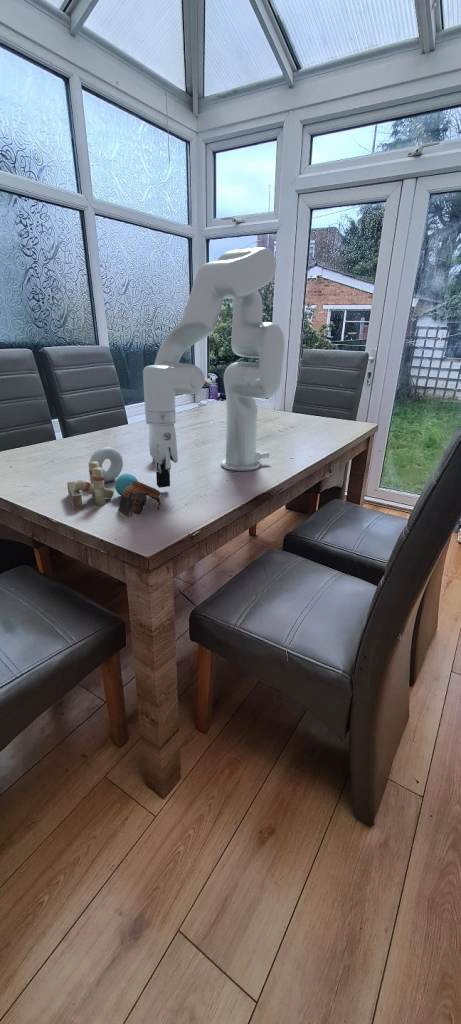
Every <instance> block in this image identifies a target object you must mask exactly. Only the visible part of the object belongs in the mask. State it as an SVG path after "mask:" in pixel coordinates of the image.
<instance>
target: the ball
mask: <svg viewBox="0 0 461 1024" xmlns="http://www.w3.org/2000/svg"><path fill="white" fill-rule="evenodd" d="M133 481H138V482H139V480H138V478H137V477H136V476H135V475H132V474H131V473H124V474H121V475H118V477H116V480H115V483H114V489H115V491H116V493H118V495H119V496H121V495H122V494H123V491H124V489H125V488H126V487H128V486H130V485H132V482H133ZM132 496H133V495H132Z"/></svg>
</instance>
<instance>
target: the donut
mask: <svg viewBox="0 0 461 1024" xmlns="http://www.w3.org/2000/svg"><path fill="white" fill-rule="evenodd" d="M105 460H109V461H110V465H109V467H108V468H107V469H103V476H104V483H107V482H111V481H114V480H115V479H117V478H118V477H119V476H120V474H121V473H122V470H123V464H124V461H123V457H122V455H121V453H120V452H119V450H117V449H116V448H114V447H112V446H103V447H100V448H98V449H97V450H95V451H94V453H93V454H92V455H91V457H90V460H89V462H93V461H96V462H98V463H99V467H100V468H103V463H104V462H105Z"/></svg>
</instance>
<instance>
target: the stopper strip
mask: <svg viewBox="0 0 461 1024" xmlns="http://www.w3.org/2000/svg"><path fill="white" fill-rule="evenodd" d="M76 482H77V481H67V483H66V486H67V491H68V492H67V493H68V497H69V500H70V502H71V504H72V505H71V506H72V507H73V510H74V511H77V510H83V509H84V506H83V498H82V493H81V492H80V491H81V490H77V489H75V484H76Z"/></svg>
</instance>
